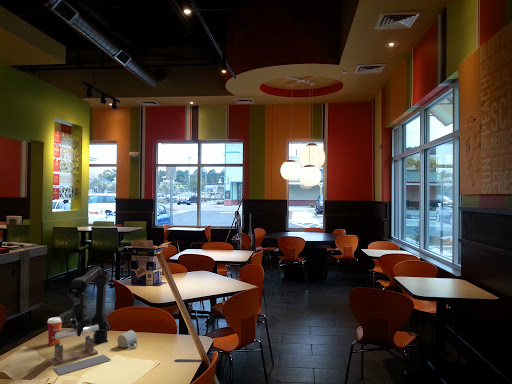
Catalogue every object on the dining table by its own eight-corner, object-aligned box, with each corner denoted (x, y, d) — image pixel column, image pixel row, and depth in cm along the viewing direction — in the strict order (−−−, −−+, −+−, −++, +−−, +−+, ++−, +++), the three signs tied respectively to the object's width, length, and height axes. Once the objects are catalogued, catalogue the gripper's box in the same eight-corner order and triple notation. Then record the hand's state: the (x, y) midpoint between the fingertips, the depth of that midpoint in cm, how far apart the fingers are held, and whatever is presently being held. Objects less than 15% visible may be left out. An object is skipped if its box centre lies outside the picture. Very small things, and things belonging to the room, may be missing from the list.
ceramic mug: (116, 347, 206) (116, 333, 206) (127, 342, 213) (127, 328, 213) (130, 351, 201) (130, 336, 201) (141, 346, 209) (141, 332, 209)
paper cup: (55, 347, 205) (56, 321, 205) (43, 345, 206) (44, 320, 207) (65, 342, 213) (66, 317, 213) (53, 340, 214) (54, 316, 215)
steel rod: (96, 329, 197) (96, 323, 197) (98, 331, 194) (98, 325, 195) (54, 338, 183) (55, 332, 183) (56, 340, 180) (57, 333, 181)
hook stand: (91, 350, 202) (92, 334, 202) (97, 354, 196) (98, 337, 196) (49, 361, 187) (49, 343, 187) (54, 366, 181) (55, 348, 181)
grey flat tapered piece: (103, 355, 195) (103, 354, 195) (111, 360, 188) (111, 359, 188) (53, 369, 177) (53, 368, 177) (60, 375, 171) (60, 374, 171)
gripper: (55, 303, 190) (54, 334, 190) (68, 310, 177) (66, 344, 176) (78, 299, 198) (77, 329, 197) (92, 306, 185) (90, 338, 184)
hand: (77, 335), depth 188 cm, fingers closed on steel rod, 3 cm apart
